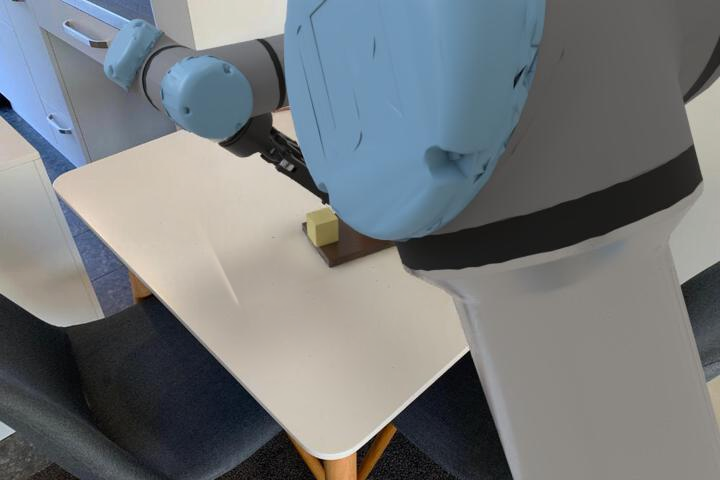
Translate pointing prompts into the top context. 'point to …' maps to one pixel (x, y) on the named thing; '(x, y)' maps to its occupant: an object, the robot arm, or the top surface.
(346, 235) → the lever base
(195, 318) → the top surface
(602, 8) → the robot arm
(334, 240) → the butter
